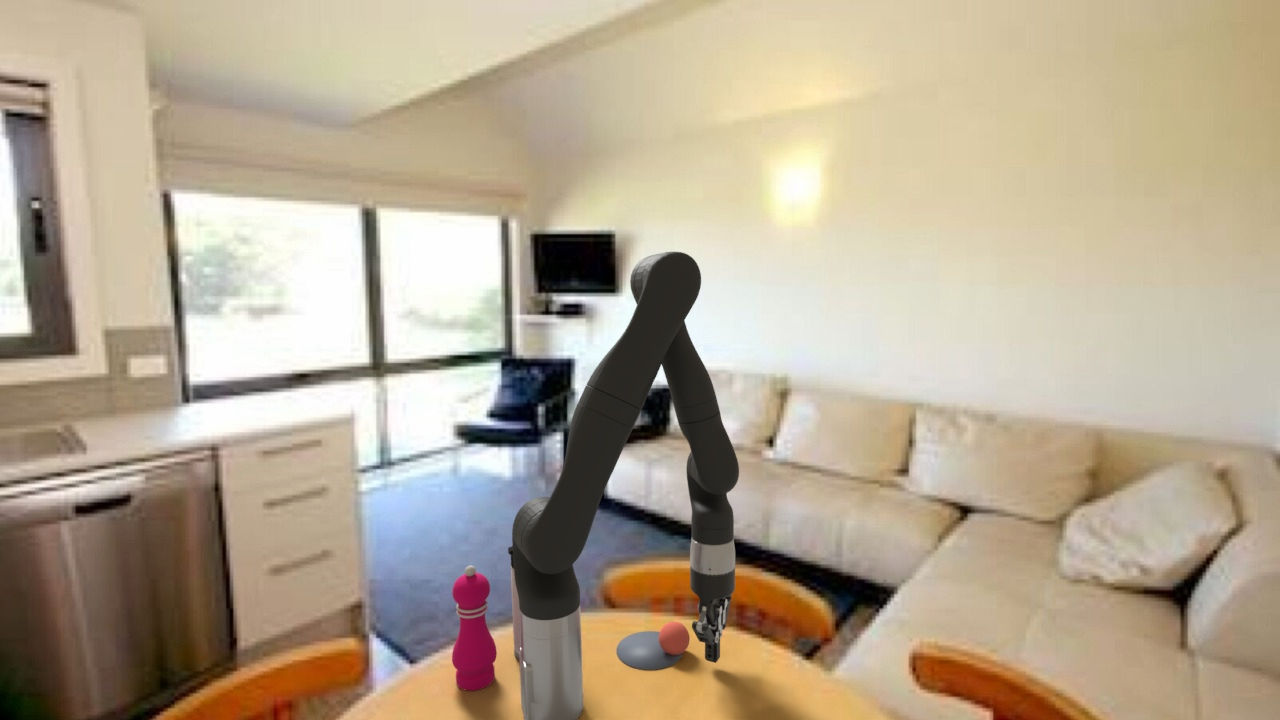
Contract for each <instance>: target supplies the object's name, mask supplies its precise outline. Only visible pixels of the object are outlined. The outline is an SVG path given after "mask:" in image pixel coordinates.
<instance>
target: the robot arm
mask: <svg viewBox="0 0 1280 720" xmlns="http://www.w3.org/2000/svg"><path fill="white" fill-rule="evenodd" d="M701 274H702V273H701V269H700V266H699V265H698V263H697V262H696V260H695V259H694V258H693V257H692V256H691V255H689V254H687V253H686V252H682V251H681V252H680V251H666V252H660V253H656V254H651V255H648V256H646V257H643V258H642V259H640V260H639V261H638V262H637V263H636V264H635V266H634V267H633V269H632V271H631V274H630V281H629V285H630V290H631V293H632V296H633V298H634V301H635V303H636V307H635V309H634V311H633V313H632V317H631V319H630V321H629V323H628V325H627V326H626V328H625V330H624V331H623V333H621V334H622V335H621V336H620V337H619V339H617V341H616V342H615V343H614V345H613V346H612V347H611V348H610V349H609V350H608V351H607V353H606V354H605V355H604V356H603V358H602V359H601V360H600V362H599V363H598V365H596V366H597V367H595V369H594V370H593V372H592V373H591V375H590V377H589V379H588V381H587V382H586V385H585V387H584V389H583V391H582V393H581V396H580V397H579V399H578V402H577V404H576V407H575V409H574V412H573V414H572V418H571V421H570V426H569V431H568V439H567V444H566V449H565V450H566V451H565V457H564V462H563V466H562V470H561V472H560V475H559V478H558V481H557V483H556V485H555V487H554V489H553V490H552V493H551V494H550V496H538V497H535V498H532V499H530V500H528V501H526V502H525V503H524V504H523V505H522V506H521V507H520V508H519V510H518V511H517V513H516V514H515V517H514V520H513V524H512V528H511V531H512V532H511V536H512V538H511V540H512V541H511V543H512V546H513V561H514V575H515V584H516V588H517V592H518V597H519V611H520V636H521V648H519V659H518V660H519V677H520V679H519V683H520V684H519V685H520V703H521V704H520V705H521V708H522V714H523V717H524V720H578V719H579V718H580V716H581V715H582V713H583V710H584V689H583V688H584V687H583V685H584V684H583V654H582V627H581V626H582V624H581V623H582V622H581V618H582V617H581V613H582V612H581V587H580V583H579V581H578V578H577V576H576V573H575V570H574V563H576V561H577V560H578V559H579V557H580V556H581V554H582V553H583V551H584V550H585V549H584V548H585V546H586V543H587V541H588V538H589V535H590V532H591V529H592V527H593V524H594V521H595V518H596V514H597V512H598V510H599V505H600V503H601V499H602V497H603V494H604V492H605V490H606V487H607V485H608V483H609V480H610V479H611V476H612V474H613V472H614V470H615V468H616V466H617V463H618V461H619V458H620V456H621V454H622V452H623V449H624V447H625V445H626V443H627V441H628V440H629V437H630V435H631V433H632V431H633V429H634V427H635V425H636V423H637V420H638V419H639V416H640V414H641V412H642V410H643V407H644V406H645V402H646V400H647V398H648V396H649V393H650V391H651V388H652V386H653V384H654V382H655V380H656V377H657V375H658V373H659V370H660V369H661V367H662V370H663V372H664V375H665V376H664V377H665V379H666V382H667V386H668V390H669V393H670V397H671V401H672V404H673V407H674V412H675V416H676V419H677V422H678V426H679V429H680V431H681V433H682V435H683V436H684V439H686V441H687V443H688V445H689V449H690V452H689V453H688V456H687V457H688V458H687V461H686V481H687V488H688V495H689V499H690V505H691V521H690V522H691V541H690V548H689V550H690V551H689V573H690V574H689V577H690V578H689V580H690V581H689V582H690V583H689V585H690V589H691V592H692V593H694V595H696V596H697V597H698V599H699V600H698V603H697V611H698V614H699V615H698V617H699V618H698V619H697V621H695V620H693V621H692V624H691V629H692V630H693V633H694V634H695V636H696V638H697V641H698V642H700V643H704V659H705V661H707V662H711V663H715V664H716V663H718V662H719V659H720V658H721V639H722V636H723V630H726V627H727V621H728V616H729V611H730V606H731V603H732V602H731V601H732V594H733V593H734V592H735V589H736V548H735V547H736V546H735V542H734V541H735V538H734V535H735V534H734V531H735V530H734V529H735V527H734V525H735V524H734V521H735V520H734V518H735V517H734V509H733V508H732V506H731V504H730V502H729V500H728V499H729V498H728V496H727V494H728V493H730V492H731V491H733V489H734V488H735V487H736V485H737V483H738V481H739V477H740V476H739V475H740V467H739V461H738V458H737V454H736V452H735V449H734V447H733V444H732V442H731V439H730V437H729V434H728V432H727V430H726V428H725V426H724V423H723V420H722V414H721V411H720V405H719V403H718V399H717V394H716V391H715V388H714V385H713V384H714V383H713V382H712V379H711V376H710V374H709V372H708V370H707V368H706V365H705V364H704V362H703V360H702V358H701V357H700V355H699V353H698V351H697V350H696V347H695V346H694V343H693V340H692V338H691V337H690V336H691V335H690V333H689V331H688V329H687V325H686V322H685V319H686V318H687V316H688V315H689V313H690V312H691V310H692V308H693V306H694V304H695V303H696V301H697V300H698V297H699V295H700V290H701V286H702V275H701Z"/></svg>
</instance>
